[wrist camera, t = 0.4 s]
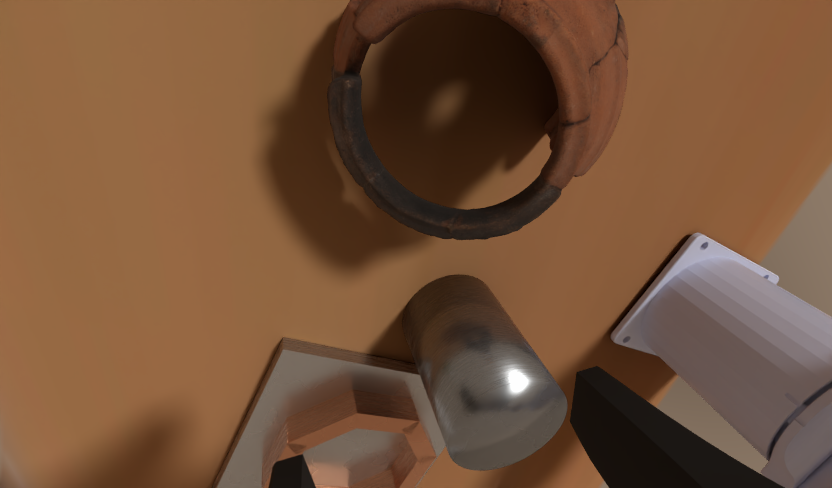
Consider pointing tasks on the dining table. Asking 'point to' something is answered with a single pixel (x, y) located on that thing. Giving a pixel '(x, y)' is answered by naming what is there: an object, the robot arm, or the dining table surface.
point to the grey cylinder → (480, 375)
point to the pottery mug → (568, 127)
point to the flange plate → (310, 387)
